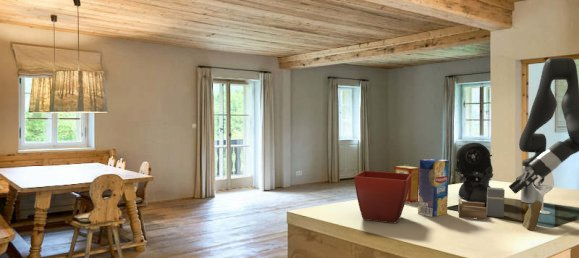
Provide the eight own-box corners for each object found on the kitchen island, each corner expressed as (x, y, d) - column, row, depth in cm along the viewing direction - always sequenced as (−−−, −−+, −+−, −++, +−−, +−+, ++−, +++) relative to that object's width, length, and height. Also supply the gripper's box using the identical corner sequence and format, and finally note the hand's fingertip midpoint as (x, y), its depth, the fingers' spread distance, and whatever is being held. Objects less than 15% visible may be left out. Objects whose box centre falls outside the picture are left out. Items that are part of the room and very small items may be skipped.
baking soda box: (393, 198, 213) (394, 165, 213) (402, 197, 217) (403, 165, 217) (409, 202, 206) (410, 167, 205) (418, 201, 210) (419, 167, 209)
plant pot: (405, 226, 158) (406, 179, 158) (352, 221, 165) (353, 175, 165) (410, 216, 176) (411, 173, 176) (362, 211, 183) (363, 170, 183)
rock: (541, 226, 154) (555, 219, 160) (525, 204, 158) (539, 198, 164) (517, 238, 162) (531, 231, 168) (503, 217, 166) (516, 211, 171)
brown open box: (458, 211, 188) (458, 198, 188) (483, 213, 184) (484, 200, 184) (458, 217, 177) (459, 203, 176) (486, 219, 173) (486, 205, 173)
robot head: (512, 205, 202) (502, 141, 201) (474, 211, 202) (464, 147, 202) (484, 193, 232) (475, 138, 231) (451, 199, 232) (442, 143, 232)
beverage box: (447, 213, 183) (449, 160, 182) (433, 217, 175) (435, 161, 175) (432, 210, 188) (433, 158, 187) (417, 213, 181) (419, 159, 180)
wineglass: (556, 215, 186) (558, 172, 185) (534, 213, 187) (536, 171, 187) (548, 211, 194) (550, 169, 193) (528, 209, 195) (530, 169, 195)
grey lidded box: (486, 213, 186) (487, 187, 185) (502, 214, 184) (503, 188, 183) (487, 215, 181) (488, 188, 181) (503, 217, 179) (504, 190, 179)
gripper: (534, 155, 183) (502, 181, 187) (541, 158, 170) (507, 185, 174) (548, 169, 182) (516, 194, 186) (556, 172, 168) (521, 200, 172)
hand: (511, 190), depth 180 cm, fingers open, 8 cm apart
